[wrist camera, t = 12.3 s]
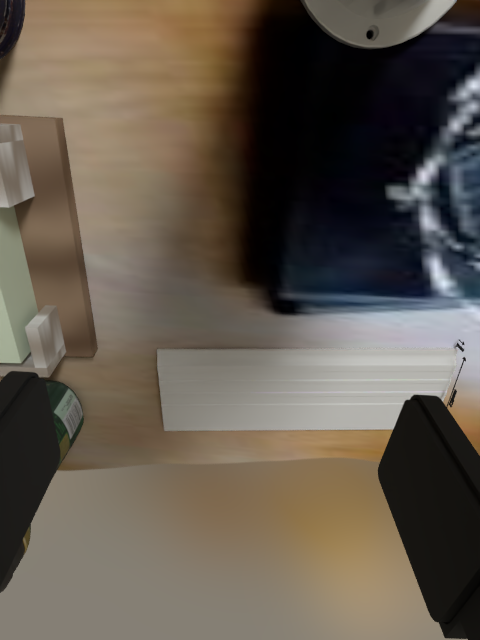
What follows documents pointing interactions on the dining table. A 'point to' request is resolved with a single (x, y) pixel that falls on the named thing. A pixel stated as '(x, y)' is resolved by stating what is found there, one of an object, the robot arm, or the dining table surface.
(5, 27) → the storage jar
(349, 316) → the dining table surface
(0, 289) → the pale green long block
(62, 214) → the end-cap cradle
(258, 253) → the dining table surface
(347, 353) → the baseboard molding
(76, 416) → the coffee jar
